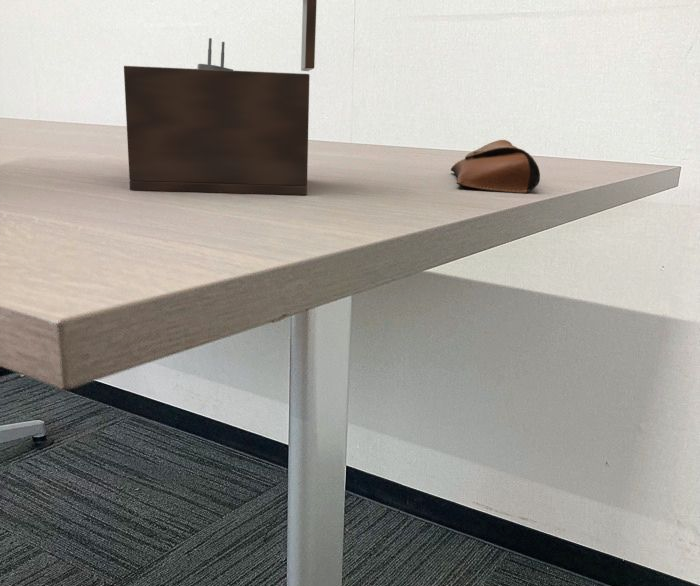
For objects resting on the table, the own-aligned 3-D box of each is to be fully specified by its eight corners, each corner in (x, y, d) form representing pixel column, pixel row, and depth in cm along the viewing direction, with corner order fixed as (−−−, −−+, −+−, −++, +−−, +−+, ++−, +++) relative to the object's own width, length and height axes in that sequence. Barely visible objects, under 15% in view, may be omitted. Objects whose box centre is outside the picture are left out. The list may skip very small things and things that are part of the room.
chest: (129, 190, 68) (123, 65, 64) (151, 174, 80) (147, 68, 76) (306, 195, 69) (309, 73, 66) (302, 179, 81) (304, 75, 78)
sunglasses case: (446, 167, 95) (478, 120, 93) (492, 199, 96) (525, 153, 94) (455, 184, 78) (495, 127, 76) (512, 223, 79) (552, 167, 77)
